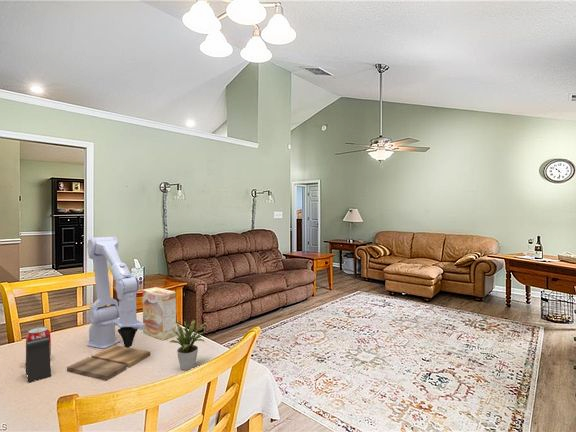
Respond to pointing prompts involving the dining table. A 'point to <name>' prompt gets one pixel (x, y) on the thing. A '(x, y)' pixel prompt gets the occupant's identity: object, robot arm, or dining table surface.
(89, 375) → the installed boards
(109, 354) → the teak plank
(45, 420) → the dining table surface
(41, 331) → the soda can
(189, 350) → the house plant
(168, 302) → the coffeecake box
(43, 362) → the phone stand
